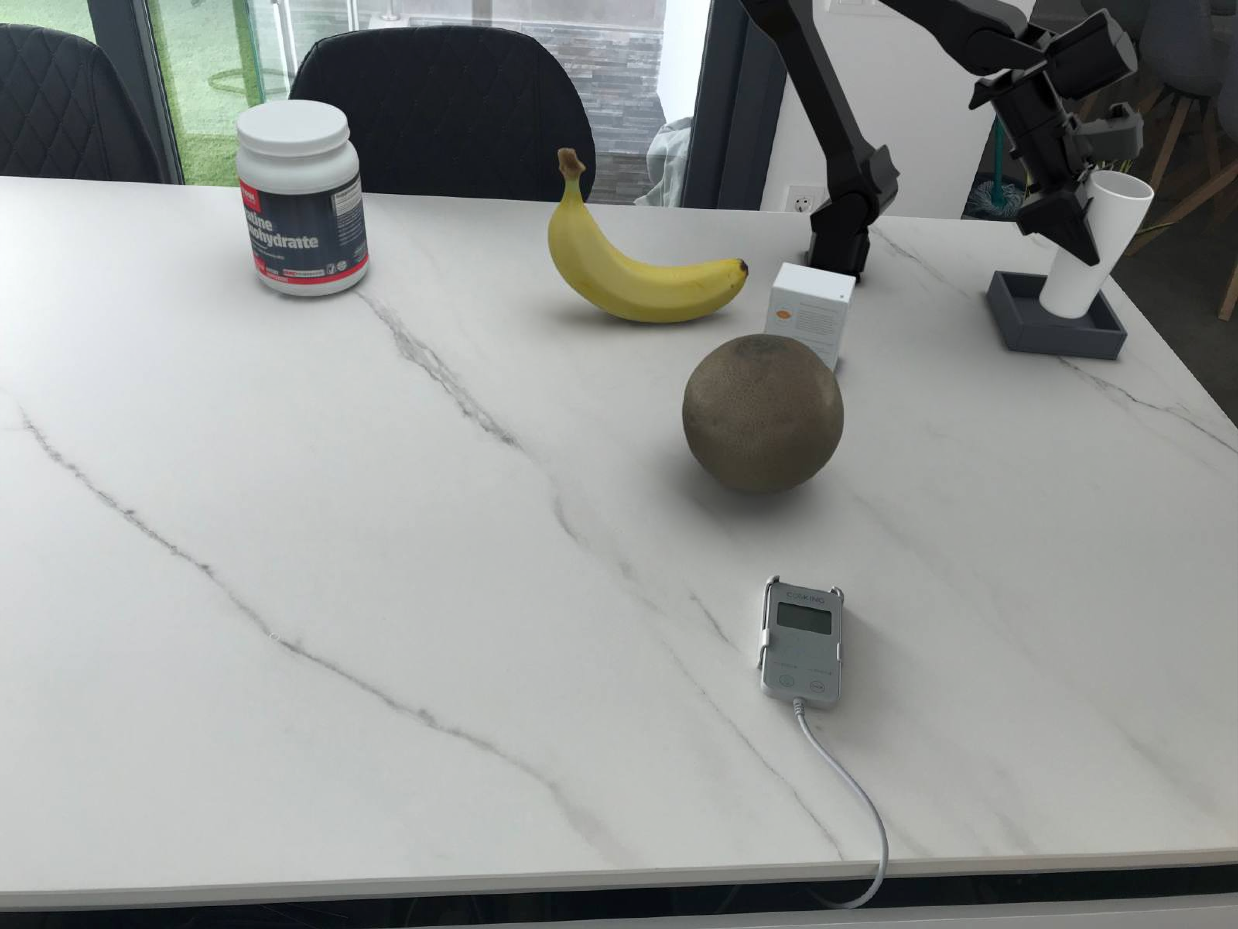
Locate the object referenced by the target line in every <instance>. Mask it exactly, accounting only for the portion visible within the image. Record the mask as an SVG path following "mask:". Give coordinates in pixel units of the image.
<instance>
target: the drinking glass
mask: <svg viewBox="0 0 1238 929" xmlns="http://www.w3.org/2000/svg"><path fill="white" fill-rule="evenodd" d="M1083 186H1084V188H1085V190H1086V192H1087V197H1088V199H1089V198H1091V197H1094V200H1093V202H1092V205H1091V207H1090V210H1089V212H1088V214H1087V218H1088V221H1089V224H1090V228H1091V231H1092V234H1093V237H1094V240H1095V243H1096V246H1097V250H1098V253H1099V257H1100V263H1099V264H1097V265H1094V266H1092V267H1090V266H1088V265H1087V264H1085V263H1084V262H1082V261H1081V260H1079V259H1078V258H1077V257H1075V256H1074V255H1072V254H1071V253H1069V252H1068V251H1066V250H1065V249H1064V248H1062V247H1060V246H1059V245H1058V247H1057V249H1056V252H1055V256H1054V258H1053V261H1052V264H1051V266H1050V269H1049V272H1048V274H1047V275H1048V277H1047V280H1046V282H1045V284H1044V286H1043V289H1042V291H1041V293H1040V296H1039V301H1040V304H1041V305H1042V306H1043V308H1045V309H1046V310H1047V311H1049V312H1050V313H1052V314H1054V315H1057V316H1059V317H1063V318H1069V319H1075V318H1080V317H1082V316H1084V315H1085V314H1086V312H1087V311H1088V309H1089V307H1090V305H1091V303H1092V301H1093V299H1094V298H1095V296H1096V295H1097V293H1098V291H1099V290H1100V289H1101V288H1102V286H1103V285H1104V283H1105V282H1106V280H1107V278H1108V277H1109V275H1110V274H1111V273H1112V271H1113V269H1114V268H1115V266H1116V264H1117V263H1118V261H1119V259H1120V258H1121V257H1122V255H1123V253H1124V252H1125V250H1126V248H1128V245H1129V244H1130V242H1131V241H1132V239H1133V238H1134V236H1135V234H1136V233H1137V231H1138V230H1139V227H1140V226H1141V224H1142V221H1143V220H1144V218H1145V216H1146V214H1147V212H1148V209H1149V208H1150V205H1151V202H1153V198H1154V196H1155V191H1154V189H1153V188H1152V187H1151V186H1150V184H1148V183H1146V182H1145V181H1143V180H1141V179H1139V178H1137V177H1134V176H1132V175H1130V174H1127V173H1124V172H1120V171H1115V170H1111V171H1108V170H1099V171H1094V172H1092V173H1090V174H1089V176H1088V178H1087V180H1086V182H1085V184H1084V185H1083Z"/></svg>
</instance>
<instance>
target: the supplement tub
mask: <svg viewBox="0 0 1238 929" xmlns="http://www.w3.org/2000/svg"><path fill="white" fill-rule="evenodd" d="M235 127H236V139H237V141H238V143H239V144H240V146H239V147H238V150H237V152H236V154H235V155H236V156H235V170H236V173H237V178H238V183H239V188H240V193H241V194H240V195H241V200H242V204H243V209H244V215H245V219H246V226H247V230H248V235H249V241H250V243H251V250H252V256H253V261H254V266H255V267H254V269H255V271H256V273H257V275H258V277H259V278H260V279H261V281H262V282H263V283H264V284H265V285H267V286H268V287H270V288H271V289H273V290H275V291H277V292H279V293H283V294H287V295H291V296H298V297H319V296H327V295H331V294H336V293H339V292H342V291H345V290H346V289H348V288H351V287H352V286H354V285H356V283H358V282H359V281H360V280H361V279H363V277H364V276H365V275H366V273H367V271H368V269H369V265H370V255H369V247H368V246H369V245H368V236H367V228H366V221H365V220H366V219H365V210H364V201H363V192H362V182H361V173H360V160H359V156H358V153H357V150H356V148H355V146H354V145H353V143H352V142H351V141H350V140H349V138H350V136H351V130H350V128H349V124H348V118H347V116H346V114H345V113H344V112H343V111H342V110H341V109H339V108H338V107H336V106H334V105H332V104H329V103H325V102H321V101H316V100H309V99H284V100H274V101H269V102H264V103H260V104H257V105H254V106H252V107H250V108H248V109H246V110H244V111H243V112H241V113H240V114H239V116H237V118H236V121H235Z"/></svg>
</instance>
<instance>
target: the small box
mask: <svg viewBox="0 0 1238 929" xmlns="http://www.w3.org/2000/svg"><path fill="white" fill-rule="evenodd" d="M855 281H856V277H852V276H847V275H842V274H838V273H833V272H828V271H823V270H819V269H814V268H809V267H806V266H805V265H799V264H794V263H791V262H790V263H789V262H785V261H784V262H782V264H781V266H780V269H779V270H778V273H777V275H776V277H775V279H774V281H773V284H772V285H771V289H770V296H769V302H768V309H767V313H766V317H765V324H764V328H763V334H770V335H778V336H785V337H790V338H793V339H795V340H797V341H799V342H802V343H803V344H805V345H806V346H808V347H809V348H810V349H812V350H813V351H814V352H815V353H816V354H817V355H818V356H819V357H820V359H821V360H822V361H823V362H824V364H825V365H826V366H827V367H829V368H830V370H831V371H832V373H833V374H834V371H835V368H836V365H837V361H838V358H839V354H840V350H841V345H842V342H843V337H844V333H845V329H846V325H847V321H848V316H849V311H850V307H851V303H852V298H853V294H854V290H855V285H856V283H855Z"/></svg>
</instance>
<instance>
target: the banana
mask: <svg viewBox="0 0 1238 929" xmlns="http://www.w3.org/2000/svg"><path fill="white" fill-rule="evenodd" d="M557 157H558V162H559V166H558V170H559V171H560V172H561V174H562V175H563V177H564V182H565V186H564V187H565V188H564V191H563V195H562V198H561V200H560V202H559V204H558V205H557V207H556V208H555V210H554V211H553V213H552V215H551V217H550V220H549V223H548V227H547V245H548V250H549V251H548V252H549V255H550V257H551V260H552V263H553V264H554V267H555V268H556V270H557V271H558V274H559V275H560V277H562V279H563V280H564V282H565V283H566V284H568V286H569V287H570V288H571V289H573V290H574V291H575V292H576V294H578V295H579V296H580V297H582V298H584V300H586V301H587V302H589V303H590V304H592V305H593V306H595V307H596V308H599V309H600V310H602V311H604V312H606V313H608V314H610V315H613V316H614V317H618V318H621V319H625V320H628V321H633V322H642V323H657V324H659V323H660V324H663V323H681V322H686V321H690V320H695V319H698V318H703V317H704V316H707V315H708V316H709V315H711V314H713V313H715V312H718V311H719V310H720V309H723V308H724V307H725V306H726V305H728V304H729V303H730V302H732V301H733V300H734V299H735V298H736V297H737V296H738V295H739V294H740V292H741V291H742V289H743V288H744V286H745V283H746V281H747V279H748V277H749V274H750V272H749V266H748V264H747V263H746V261H744V259H742V258H726V259H718V260H710V261H705V262H700V263H696V264H689V265H681V266H661V265H653V264H648V263H645V262H641V261H637V260H636V259H633V258H631V257H629V256H627V255H626V254H624V253H623V252H622V251H620V250H619V249H618V248H616V247H615V246H614V245H613V244H612V243H611V241H610V240H608V239H607V237H606V236H605V234H604V233H603V232H602V230H601V228H600V227H599V225H598V224H597V222H596V221H595V219H594V217H593V216H592V214H591V212H590V211H589V209H588V208H587V207H586V205H585V203H584V201H583V197H582V194H581V190H580V189H581V188H580V177H581V173H582V172H584V171H586V166H585V165H584V163H582V161H580V160H579V159H578V156H577V153H576V150H575V149H574V148H568V147H562V148H559V149H558V150H557Z"/></svg>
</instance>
